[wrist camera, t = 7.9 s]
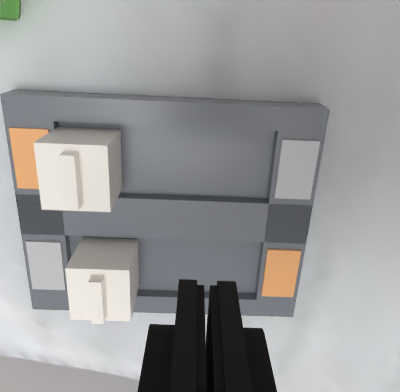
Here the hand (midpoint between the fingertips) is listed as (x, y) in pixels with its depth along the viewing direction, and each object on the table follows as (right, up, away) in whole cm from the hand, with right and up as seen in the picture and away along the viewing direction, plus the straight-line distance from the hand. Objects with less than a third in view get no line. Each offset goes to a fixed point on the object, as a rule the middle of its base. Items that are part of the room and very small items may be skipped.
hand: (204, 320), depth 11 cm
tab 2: (-7, -1, +17) cm, 18 cm away
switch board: (-2, +3, +17) cm, 17 cm away
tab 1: (-7, +6, +14) cm, 17 cm away
